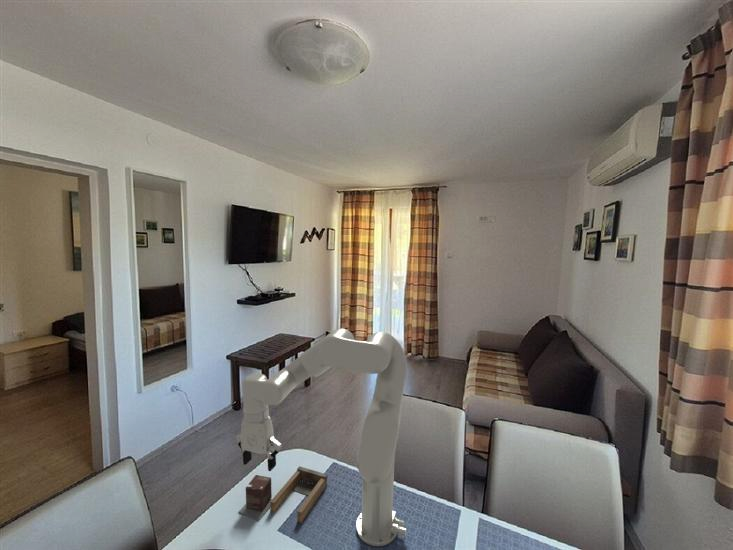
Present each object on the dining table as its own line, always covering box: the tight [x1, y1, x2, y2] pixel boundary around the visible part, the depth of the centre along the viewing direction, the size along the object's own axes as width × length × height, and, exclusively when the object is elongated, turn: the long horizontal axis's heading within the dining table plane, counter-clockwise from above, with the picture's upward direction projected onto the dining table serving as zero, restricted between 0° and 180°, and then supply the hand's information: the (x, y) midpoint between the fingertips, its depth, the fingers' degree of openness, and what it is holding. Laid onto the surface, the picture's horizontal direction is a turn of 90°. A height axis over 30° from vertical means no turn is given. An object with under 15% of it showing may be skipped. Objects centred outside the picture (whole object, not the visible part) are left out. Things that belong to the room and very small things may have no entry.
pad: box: [238, 498, 273, 521], centre depth 102 cm, size 8×8×1 cm
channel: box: [269, 465, 328, 524], centre depth 106 cm, size 12×17×4 cm
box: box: [245, 474, 273, 511], centre depth 103 cm, size 6×6×7 cm
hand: (259, 465), depth 101 cm, fingers open, 9 cm apart
